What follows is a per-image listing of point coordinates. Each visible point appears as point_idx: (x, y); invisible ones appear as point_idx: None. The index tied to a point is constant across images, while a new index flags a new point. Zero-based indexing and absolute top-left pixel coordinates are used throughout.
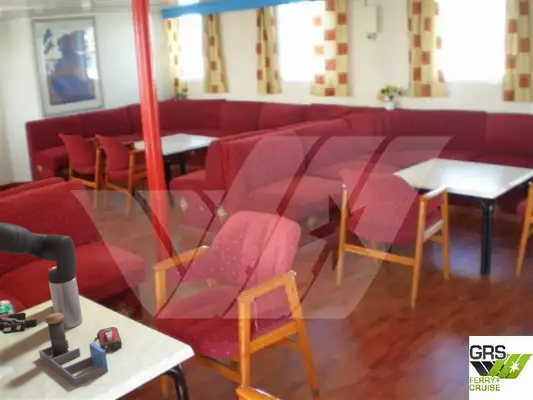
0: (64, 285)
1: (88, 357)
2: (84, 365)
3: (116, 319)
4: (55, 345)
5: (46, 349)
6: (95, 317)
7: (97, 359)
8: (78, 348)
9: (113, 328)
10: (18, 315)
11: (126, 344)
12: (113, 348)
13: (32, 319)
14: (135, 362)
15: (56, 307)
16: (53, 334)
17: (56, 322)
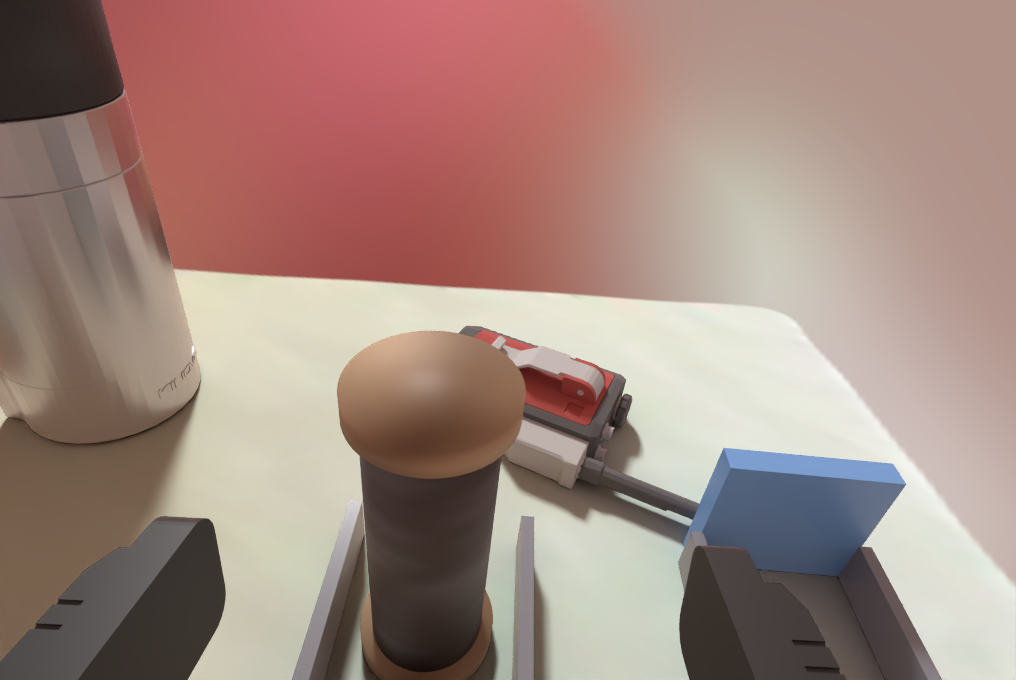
0: (92, 134)
1: (696, 544)
2: None
3: (350, 298)
4: (461, 604)
5: (315, 662)
6: (230, 318)
7: (795, 530)
8: (528, 518)
9: (482, 333)
10: (132, 651)
11: None
12: (622, 423)
13: (733, 588)
14: (803, 442)
15: (47, 321)
16: (467, 540)
17: (518, 427)
